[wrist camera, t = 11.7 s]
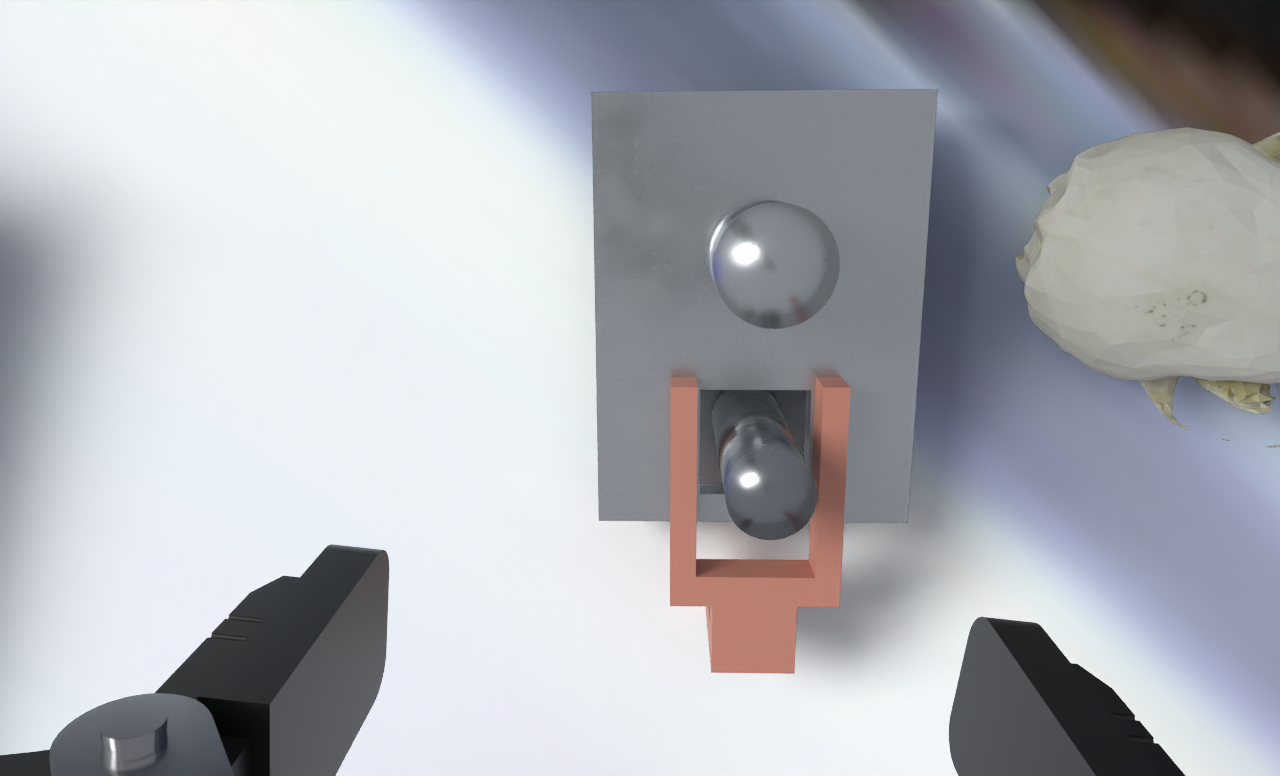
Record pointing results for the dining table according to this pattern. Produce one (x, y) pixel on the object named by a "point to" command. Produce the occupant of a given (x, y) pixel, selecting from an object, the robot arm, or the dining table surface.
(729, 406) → the pin
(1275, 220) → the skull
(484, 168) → the dining table surface
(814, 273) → the base plate with posts
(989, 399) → the dining table surface
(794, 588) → the bracket
